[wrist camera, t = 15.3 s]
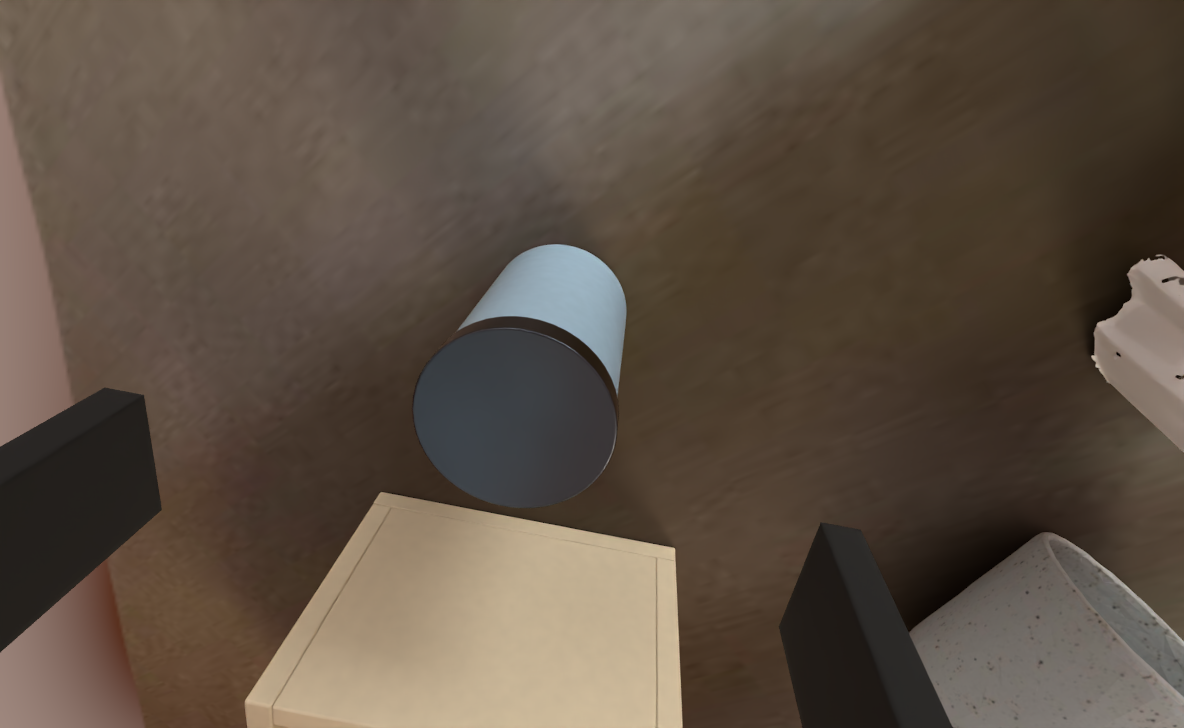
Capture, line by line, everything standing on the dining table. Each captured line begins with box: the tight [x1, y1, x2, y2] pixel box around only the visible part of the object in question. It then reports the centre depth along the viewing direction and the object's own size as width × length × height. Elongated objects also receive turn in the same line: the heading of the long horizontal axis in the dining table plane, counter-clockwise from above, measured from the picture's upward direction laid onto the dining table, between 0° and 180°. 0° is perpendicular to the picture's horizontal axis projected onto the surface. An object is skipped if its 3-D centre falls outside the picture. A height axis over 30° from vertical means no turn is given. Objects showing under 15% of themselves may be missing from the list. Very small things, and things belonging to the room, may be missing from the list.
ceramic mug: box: [909, 532, 1184, 728], centre depth 23 cm, size 11×8×8 cm
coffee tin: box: [412, 244, 627, 508], centre depth 19 cm, size 5×5×8 cm
